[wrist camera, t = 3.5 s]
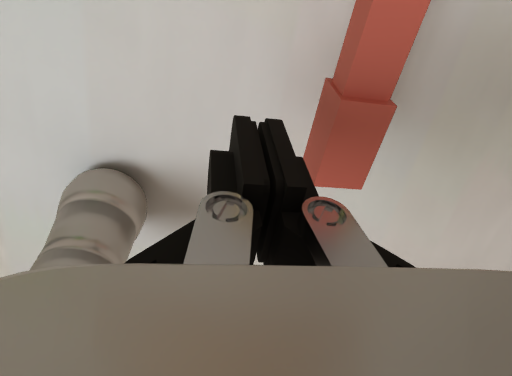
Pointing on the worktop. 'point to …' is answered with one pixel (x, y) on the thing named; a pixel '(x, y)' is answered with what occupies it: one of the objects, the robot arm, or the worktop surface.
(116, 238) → the plastic bottle
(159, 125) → the worktop surface
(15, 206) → the worktop surface
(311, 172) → the lever
